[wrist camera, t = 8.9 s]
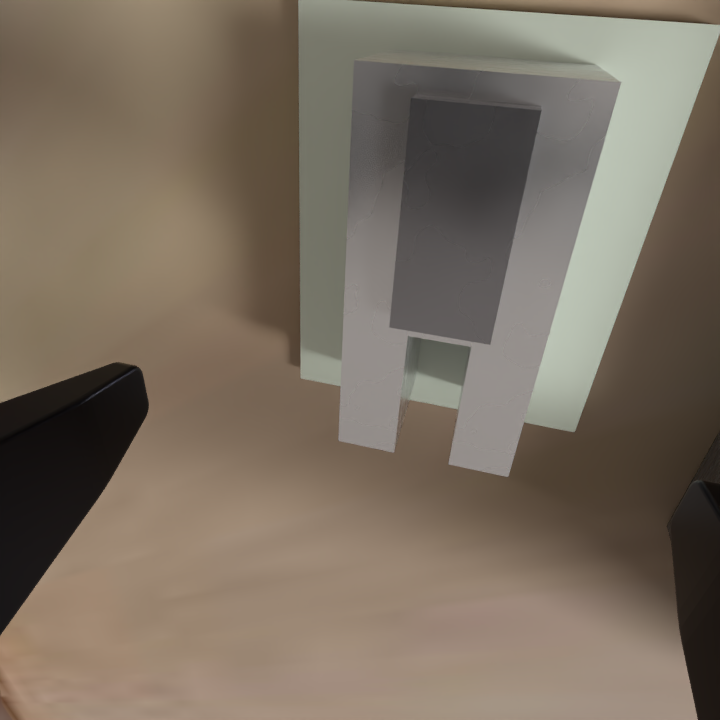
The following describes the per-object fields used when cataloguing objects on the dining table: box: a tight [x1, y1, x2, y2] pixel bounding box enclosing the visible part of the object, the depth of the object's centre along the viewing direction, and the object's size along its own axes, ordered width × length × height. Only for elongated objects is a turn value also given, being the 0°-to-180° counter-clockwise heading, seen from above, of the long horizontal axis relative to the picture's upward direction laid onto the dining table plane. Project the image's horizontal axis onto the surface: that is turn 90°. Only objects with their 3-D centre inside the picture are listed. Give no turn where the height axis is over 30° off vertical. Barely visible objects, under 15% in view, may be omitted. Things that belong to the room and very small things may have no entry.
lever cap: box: [338, 49, 621, 477], centre depth 14 cm, size 10×5×5 cm, turn 177°
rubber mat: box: [298, 0, 720, 432], centre depth 16 cm, size 12×10×1 cm
